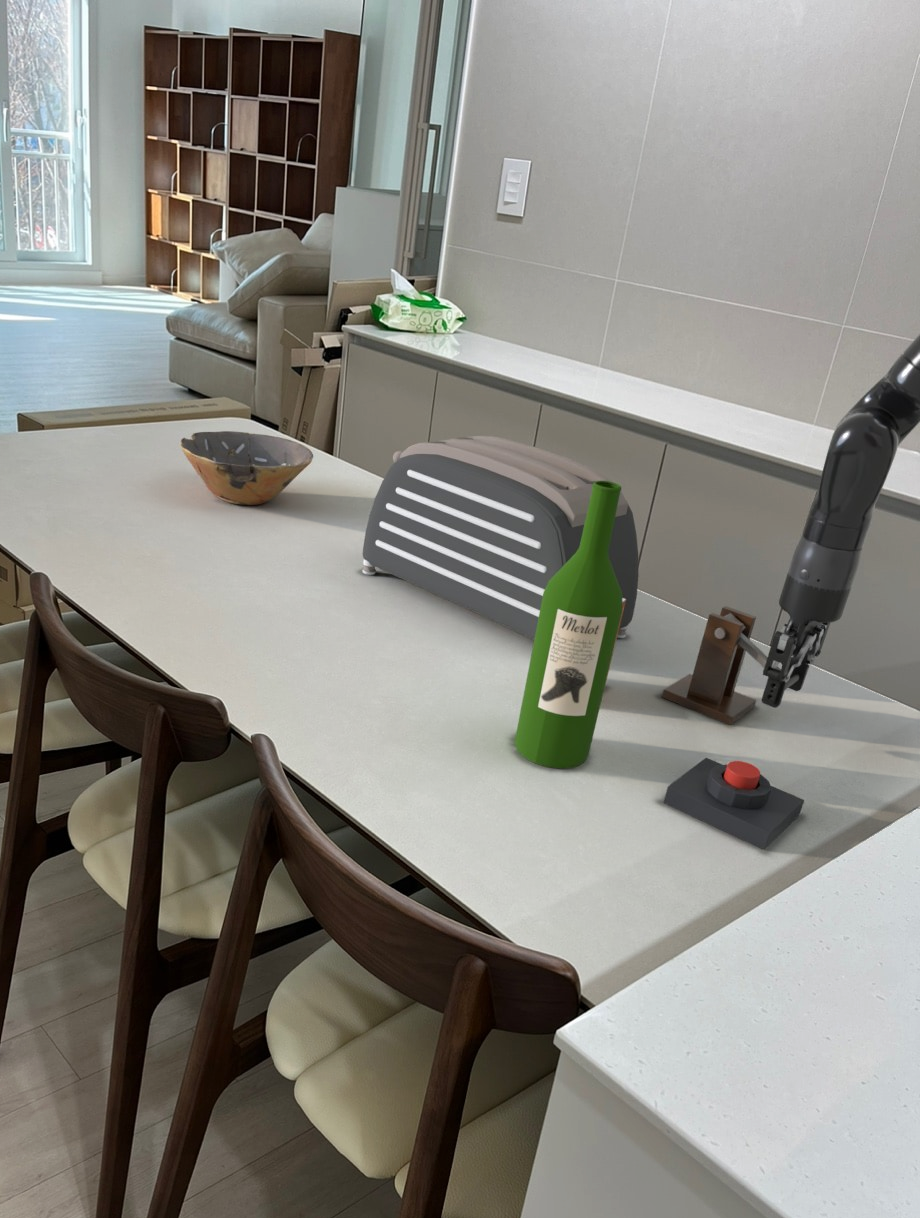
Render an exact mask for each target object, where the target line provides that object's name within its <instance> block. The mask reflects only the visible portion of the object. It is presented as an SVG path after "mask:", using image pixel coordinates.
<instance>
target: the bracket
mask: <svg viewBox="0 0 920 1218" xmlns="http://www.w3.org/2000/svg"><path fill="white" fill-rule="evenodd" d="M730 613H731V614H732V615H733V616H735V617H736V618H737V619H738V620H739V621H740V622H741V623H740V622H737V621H734V620H731V619H729V618H726V617H724V616H726V615H728V614H730ZM756 620H757V616H755V615H752V614H750V613H747V612H744V611H742V610H738V609H735V608H732V607H730V606H726V605H724V606H722V607H721V610H720V614H717V613H714V612H711V613H709V614H708V617H707V621H706V625H705V629H704V632H703V636H702V639H701V643H700V647H699V651H698V654H697V658H696V661H695V665H694V669H693V672H692V674H691V673H689V674H687V675H685V676H684V677H682V678H680V679H679V680H677V681H675V682H674V683H672V684H671V685H668V686H667V687H666V688H664V689H663V691H662V694H661V698H663V699H666V700H668V701H669V702H673V703H675V704H678V705H680V706H683V707H685V708H687V709H689V710H693V711H694V712H697V713H700V714H702V715H704V716H706V717H710V718H712V719H715V720H716V721H719V722H721V723H724V724H727V725H729V726H731V725H732V724H734V723H735V722H736V721H738V720H740V719H741V718H742V717H743V716H745V715H746V714H748V713H749V712H751V710H753V709H754V708H755V707H756V703H757V699H756V698H752V697H750V696H747V695H745V694H742V693H739V692H737V691H735V690H736V687H737V683H738V681H739V677H740V673H741V670H742V667H743V664H744V660H745V656H746V653H747V652H746V651H745V650H744V649H743V648H742V647H741V646H740V645H739V644H738V643H739V639H740V636H741V633H743V634H744V635H745V636H746V637H747V638H748V639H749V640H750V641H751V636H752V633H753V630H754V626H755V623H756ZM743 626H745V627H746V628H745V629H744V630H743V631H742V629H743Z"/></svg>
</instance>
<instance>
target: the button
mask: <svg viewBox="0 0 920 1218" xmlns="http://www.w3.org/2000/svg"><path fill="white" fill-rule="evenodd" d="M727 764H728V765H727V768H726V771H725V774H724V781H726V782H727V783H728V784H730V785H732V786H734V787H737V788H740V789H745V790H753V789H755V788H756V787H757V784H758V780H759V777H760V774H761V775H762V773H761V771H760V769H759V768H758V767H757V766H755V765H754V764H751V763H749V762H746V761H742V760H732V761H729V762H728V763H727Z"/></svg>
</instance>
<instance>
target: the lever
mask: <svg viewBox="0 0 920 1218" xmlns="http://www.w3.org/2000/svg"><path fill="white" fill-rule="evenodd" d="M724 617H726V618H729V619H731V620H734V621H737V622H740V621H739V620H738V619H737V618H736V617H735V616H733V615H732V614H731V613H730V614H728V615H726V616H724ZM740 623H741V622H740ZM745 628H746V627H745V626H743V629H742V631H743V630H744V629H745ZM738 644H739V645H740V646H741V647H742V648H743V649H744V650H745V651H746V653H747V654H748V655H749V656H750V657H752V658H753V659H754V660H755V661H756V662H757V663H758V664H759V665H760V666H761V667H762V668H763V669H764V668H765V664H766V661H767V658H768V655H766V654H765V653H764V652H763V651H762V650H761V649H760V648H759V647H757V646H756V644H755V643H753V642H752V641H751V639H750V640H749V639H748V638H747V637H746V636H745V635H744V634H743V633H741V636H740V639H739V643H738ZM776 669H779V670H781V668H780V667H779V666H777V668H776ZM798 680H799V675H798V673H796V672H792V673H791V675H790V679H789V680H788V682H787V685H786V688H785V691H786V690H788V689H789V687H790V686H791V685H793V684H794V683H795V682H797V681H798Z"/></svg>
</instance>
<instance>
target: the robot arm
mask: <svg viewBox="0 0 920 1218" xmlns="http://www.w3.org/2000/svg"><path fill="white" fill-rule="evenodd" d="M919 424H920V333H919V334H918V335H917V336H916V338H915V339H914V340H912V342H910V344H908V346H907V347H906V348H905V350H904V351H903V353H901V354H900V356H899V357H897V359H896V360H895V361H894V363H893V364H891V367H890V368H889V370H888V371H887V372H886V373H885V374H884V376H882V378H881V379H880V380H879V381H877V382H876V383H875V384H874V385H873V386H872V387H871V388H870V389H868V391H867V392H866V393H865V394H864V395H863V396H862V397H861V398H860V399H859V400H858V401H857V402H856V403H855V404H854V405H853V406H852V407H851V408H850V409H849V410H848V411H847V412H846V413H845V415H843V417H842V418H841V419H840V420H839V422H838V423H837V425H836V426H835V429H834V431H833V433H832V436H831V439H830V442H829V445H828V449H827V452H826V456H825V459H824V464H823V467H822V468H823V469H822V472H821V475H820V480H819V483H818V488H817V493H816V494H815V495H814V498H813V500H812V502H811V505H810V508H809V510H808V514H807V516H806V520H805V523H804V526H803V529H802V533H801V536H800V538H799V541H798V543H797V545H796V547H795V549H794V551H793V554H792V558H791V561H790V564H789V567H788V570H787V573H786V576H785V580H784V583H783V587H782V590H781V593H780V596H779V599H778V604H779V607H780V608H781V610H783V611H784V612H786V613H787V614H788V616H789V619H788V621H787V623H784V624H783V626H782V628H781V630H780V631H779V630H776V632H775V633H774V634H773V637H772V641H771V645H770V648H769V651H768V655H767V657H768V658H767V661H766V664H765V668H763V669H762V676H765V677H767V681H766V684H765V687H764V690H763V693H762V697H761V703H762V704H764V705H766V706H769V707H771V708H778V707H779V706H780V705H781V704H782V700H783V697H784V694H785V691H786V690H785V688H786V685H787V682H788V680H789V679H790V675H791V673H792V672H796V673H798V675H799V680H798V681H797V682H795V683H794V684H793V685H791V686H790V687H789V688H788V689H789V690H792V691H795V692H799V691H801V690H802V688H803V686H804V682H805V680H806V677H807V674H808V672H809V668H810V665H813V663H814V662H815V658H817V657H819V656H820V655H821V652H822V648H823V646H824V642H825V640H826V637H827V635H828V631H829V628H830V625H831V623H835V622H838V621H839V620H841V618H842V616H843V613H844V611H845V607H846V604H847V602H848V599H849V596H850V593H851V591H852V587H853V584H854V581H855V578H856V576H857V573H858V569H859V567H860V562H861V556H862V552H863V548H864V545H865V543H866V540H867V536H868V533H869V531H870V528H871V525H872V522H873V518H874V514H875V509H876V508H875V507H876V503H877V501H878V499H879V496H880V494H881V492H882V490H883V487H884V485H885V483H886V480H887V477H888V475H889V474H890V473H889V472H890V470H891V467H892V466H893V462H894V460H895V457H896V454H897V451H898V448H899V446H900V445H901V443H902V442H903V441H904V440H905V439H906V438H907V436H908V435H909V434H910V433H912V431H913V430H914V429H915V428H916V427H917V426H918V425H919ZM779 664H781V668H780V669H781V670H779V669H776V668H777V666H778V665H779ZM778 667H779V666H778Z"/></svg>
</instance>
